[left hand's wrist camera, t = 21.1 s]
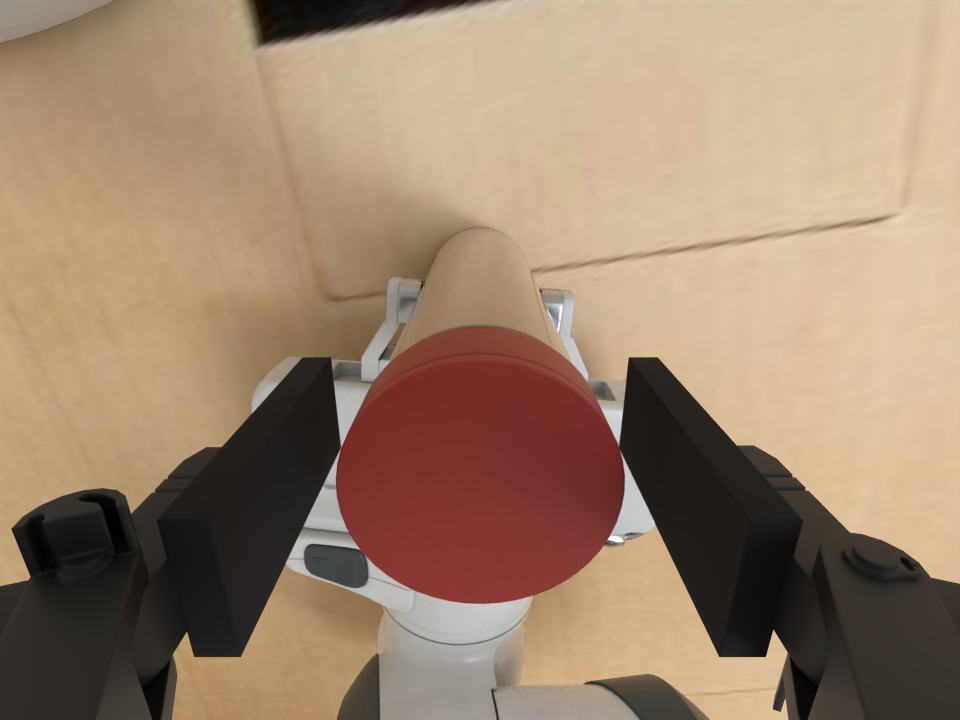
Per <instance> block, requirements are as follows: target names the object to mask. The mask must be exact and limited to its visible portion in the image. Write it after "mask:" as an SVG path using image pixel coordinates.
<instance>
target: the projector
mask: <svg viewBox="0 0 960 720" xmlns="http://www.w3.org/2000/svg"><path fill="white" fill-rule="evenodd" d="M112 1H114V0H0V43H1V42H6V41H10V40H13V39H17V38H20V37H24V36H27V35H30V34H33V33H36V32H40V31H43V30H46V29H48V28H51V27H54V26H56V25H59V24H62V23H64V22H67V21H69V20H72V19H75V18H77V17H80V16H82V15H84V14H86V13H88V12H91V11H93V10H95V9H97V8H99V7H102V6H104V5H106V4H108V3H110V2H112Z"/></svg>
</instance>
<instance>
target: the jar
mask: <svg viewBox="0 0 960 720" xmlns="http://www.w3.org/2000/svg"><path fill="white" fill-rule="evenodd" d="M470 328H492V329H500V330H506V331H512V332H516V333H519V334H522V335H525V336H529V337H531V338H533V339H536V340H538V341H540V342H542V343H544V344H546V345H548V346H549V347H551V348H553V349H554V350H556V351H557V352H559V353H560V354H561V355H563V356H564V357H565V358H566V359H567V360H569V361H570V362H571V363H572V361H571V359H570V357H569V355H568V353H567V350H566V348H565V346H564V344H563V342H562V339H561V337H560V335H559V333H558V331H557V328H556V326H555V324H554V322H553V319H552V317H551V315H550V313H549V311H548V308H547V306H546V304H545V302H544V300H543V297H542V295H541V293H540V291H539V289H538V286H537V284H536V282H535V280H534V277H533V275H532V273H531V271H530V269H529V266H528V264H527V262H526V260H525V258H524V255H523V253H522V251H521V250H520V248H519V247H518V246H517V244H516V243H515V242H514V241H513V240H512V239H510V238H509V237H508V236H506V235H505V234H503V233H501V232H499V231H496V230H493V229H488V228H472V229H467V230H464V231H461V232H459V233H457V234H455V235H454V236H453V237H451V238H450V239H449V240H448V241H447V242H445V244H444V245H443V246H442V247H441V249H440V250H439V252H438V254H437V256H436V258H435V260H434V263H433V265H432V267H431V269H430V272H429V274H428V276H427V278H426V280H425V283H424V285H423V287H422V289H421V292H420V294H419V296H418V298H417V300H416V303H415V305H414V307H413V309H412V312H411V314H410V316H409V318H408V320H407V323H406V325H405V327H404V329H403V332H402V334H401V336H400V338H399V340H398V343H397V345H396V347H395V349H394V352H393V354H392V356H391V358H390V360H389V363H390V362H391V361H392V360H393V359H394V358H396V357H397V356H398V355H399V354H401V353H402V352H404V351H405V350H407V349H408V348H410V347H411V346H413V345H415V344H417V343H419V342H421V341H423V340H425V339H427V338H430V337H433V336H435V335H438V334H441V333H445V332H450V331H454V330H459V329H470ZM389 363H388V364H389Z"/></svg>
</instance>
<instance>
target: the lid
mask: <svg viewBox="0 0 960 720" xmlns="http://www.w3.org/2000/svg"><path fill="white" fill-rule="evenodd" d="M624 492H625V472H624V465H623V459H622V455H621V452H620V449H619V445H618V443H617V440H616V438H615V436H614V434H613V432H612V430H611V428H610V426H609V424H608V422H607V420H606V418H605V416H604V414H603V412H602V409H601V407H600V405H599V403H598V401H597V399H596V397H595V395H594V393H593V391H592V389H591V387H590V385H589V384H588V383H587V381H586V380H585V378H584V377H583V375H582V374H581V373H580V372H579V371H578V370H577V368H576V367H575V366H574V365H573V364H572V363H571V362H570V361H569V360H567V359H566V358H565V357H564V356H563V355H561V354H560V353H559V352H557V351H556V350H554V349H553V348H551V347H549V346H548V345H546V344H544V343H542V342H540V341H538V340H536V339H533V338H531V337H529V336H525V335H522V334H519V333H516V332H512V331H506V330H500V329H492V328H470V329H459V330H454V331H450V332H445V333H441V334H438V335H435V336H433V337H430V338H427V339H425V340H423V341H421V342H419V343H417V344H415V345H413V346H411V347H410V348H408V349H407V350H405V351H404V352H402V353H401V354H399V355H398V356H397V357H396V358H394V359H393V360H392V361H391V362H390V363H389V364H388V365H387V366H386V367H385V368H384V369H383V370H382V371H381V373H380V374H379V375H378V376H377V377H376V379H375V380H374V382H373V384H372V385H371V387H370V388H369V390H368V392H367V394H366V396H365V398H364V400H363V402H362V404H361V406H360V408H359V410H358V412H357V415H356V417H355V419H354V421H353V423H352V425H351V427H350V429H349V431H348V433H347V436H346V438H345V440H344V443H343V445H342V447H341V451H340V455H339V459H338V463H337V471H336V493H337V500H338V504H339V509H340V513H341V515H342V518H343V521H344V523H345V526H346V528H347V530H348V532H349V533H350V535H351V537H352V539H353V541H354V542H355V543H356V545H357V546H358V547H359V549H360V550H361V551H362V553H363V554H364V555H365V556H366V557H367V558H368V559H369V560H370V561H371V562H372V563H373V564H374V565H375V566H376V567H377V568H379V569H380V570H381V571H382V572H384V573H385V574H386V575H387V576H389V577H390V578H392V579H394V580H395V581H397V582H398V583H400V584H402V585H404V586H406V587H408V588H410V589H412V590H414V591H416V592H419V593H422V594H425V595H428V596H430V597H434V598H438V599H442V600H446V601H451V602H459V603H466V604H492V603H503V602H509V601H515V600H519V599H523V598H527V597H530V596H534V595H536V594H539V593H541V592H544V591H546V590H549V589H551V588H553V587H555V586H557V585H559V584H561V583H562V582H564V581H566V580H567V579H569V578H570V577H572V576H573V575H575V574H576V573H577V572H579V571H580V570H581V569H582V568H583V567H584V566H586V565H587V564H588V563H589V562H590V561H591V560H592V559H593V558H594V557H595V556H596V554H597V553H598V552H599V551H600V550H601V549H602V547H603V546H604V544H605V543H606V541H607V540H608V538H609V537H610V535H611V533H612V531H613V529H614V527H615V525H616V523H617V520H618V517H619V514H620V511H621V508H622V504H623V498H624Z"/></svg>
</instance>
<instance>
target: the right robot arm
mask: <svg viewBox="0 0 960 720" xmlns="http://www.w3.org/2000/svg"><path fill="white" fill-rule="evenodd" d="M423 285H424V279H416V278H406V277H393V276H392V277H391V279H390V280H389V281H388V287H387V309H386V319H385V320H384V322H383V323H382V325H381V326H380V328H379V330H378V331H377V333H376V334H375V336H374V337H373V339H372V341H371V342H370V344H369V345H368V347H367V349H366V350H365V352H364V354H363V355H362V357H361V361H353V360H339V359H331V361H332V370H333V379H334V388H335V397H336V406H337V415H338V424H339V432H340V441H341V447H342V445H343V443H344V440H345V438H346V436H347V433H348V431H349V429H350V427H351V425H352V423H353V421H354V419H355V417H356V415H357V412H358V410H359V408H360V406H361V404H362V402H363V400H364V398H365V396H366V394H367V392H368V390H369V388H370V387H371V385H372V384H373V382H374V380H375V379H376V377H377V376H378V375H379V374H380V373H381V371H382V370H383V369H384V368H385V367H386V366H387V365H388V363H389V360H390V358H391V356H392V354H393V352H394V349H395V347H396V345H390V344H389V345H388V343H389V342H390V340H391V339H392V337H393V336H394V334H395V332H396V331H397V329H398V328H399V326H400V325H401V324H406V323H407V320H408V318H409V316H410V314H411V312H412V309H413V307H414V305H415V303H416V300H417V298H418V296H419V294H420V292H421V289H422V287H423ZM539 291H540V293H541V295H542V297H543V300H544V302H545V304H546V306H547V308H548V311H549V313H550V315H551V317H552V319H553V322H554V324H555V326H556V328H557V331H558V333H559V335H560V337H561V339H562V342H563V344H564V346H565V348H566V350H567V353H568V355H569V357H570V359H571V361H572V364H573V365H574V366H575V367H576V368H577V370H578V371H579V372H580V373H581V374H582V375H583V377H584V378H585V380H586V381H587V383H588V384H589V385H590V387H591V389H592V391H593V393H594V395H595V397H596V399H597V401H598V403H599V405H600V407H601V409H602V412H603V414H604V416H605V418H606V420H607V422H608V424H609V426H610V428H611V430H612V432H613V434H614V436H615V438H616V440H617V443H618V445H619V441H620V432H621V424H622V415H623V406H624V397H625V388H626V381H623V380H610V379H596V378H588V372H587V370H586V368H585V365H584V363H583V361H582V358H581V356H580V354H579V351H578V349H577V346H576V344H575V342H574V339H573V337H572V335H571V333H570V332H571V325H572V318H573V311H574V295H573V294H572V292H571V291H570V290H559V289H545V288H539ZM387 345H388V346H387ZM301 358H302V357H300V356H291V357H288V358H285V359H284V360H283V361H281V362H280V363H279V364H278V365H277V366H276V367H275V368H273V369H272V370H271V371H270V372H269V373H268V374H267V375H266V376H265V377H264V379H263V380H262V381H261V382H260V384H259V385H258V386H257V388H256V389H255V391H254V394H253V396H252V401H251V414H252V413H253V412H254V411H255V410H256V409H257V407H258V406H259V405H260V404H261V403H262V402H263V401H264V400H265V399H266V397H267V396H268V395H269V394H270V393H271V392H272V391H273V390H274V388H275V387H276V386H277V385H278V384H279V383H280V382H281V381H282V380H283V378H284V377H285V376H286V375H287V374H288V373H289V372H290V371H291V370H292V368H293V367H294V366H295V365H296V364H297V363H298V362H299V361H300V359H301ZM340 451H341V449H340ZM340 451H339V453H338V456H337V458H336V460H335V462H334V464H333V466H332V468H331V470H330V472H329V474H328V476H327V478H326V480H325V483H324V485H323V487H322V489H321V491H320V493H319V495H318V497H317V499H316V501H315V503H314V505H313V508H312V510H311V512H310V514H309V516H308V518H307V520H306V522H305V524H304V526H303V528H302V530H301V532H300V535H299V537H298V539H297V541H296V543H295V545H294V547H293V549H292V551H291V553H290V555H289V557H288V560H287V562H286V566H287V567H288V568H290V569H291V570H293V571H295V572H297V573H299V574H302V575H305V576H309V577H312V578H315V579H318V580H322V581H325V582H328V583H331V584H334V585H337V586H339V587H342V588H345V589H348V590H350V591H353V592H355V593H358V594H360V595H362V596H364V597H367V598H369V599H371V600H373V601H375V602H377V603H379V604H381V605H382V607H383V610H384V613H383V616H382V618H381V621H380V625H379V629H378V635H377V654H376V655H375V656H373V657H372V658H371V660H370V661H369V662H368V663H367V664H366V665H365V666H364V668H363V669H362V671H361V672H360V673H359V675H358V677H357V678H356V680H355V681H354V682H353V684H352V686H351V687H350V689H349V690H348V692H347V693H346V695H345V696H344V698H343V701H342V704H341V707H340V710H339V713H338V717H337V720H709V719H708V717H707V716H706V715H705V714H704V713H703V712H702V711H701V710H699V709H698V708H697V707H696V706H695V705H694V704H693V703H692V702H691V701H689V700H688V699H687V698H686V697H685V696H684V695H682V694H681V693H680V692H679V691H678V690H676V689H675V688H674V687H672V686H671V685H670V684H668V683H667V682H665V681H664V680H663V679H661V678H659V677H657V676H655V675H651V674H643V675H636V676H628V677H620V678H612V679H604V680H596V681H590V682H586V683H584V684H583V685H535V686H519V683H520V678H521V673H522V667H523V662H524V656H525V645H526V638H525V629H524V625H523V623H524V621H525V620H526V618H527V616H528V614H529V611H530V609H531V606H532V602H533V597H534V596H530V597H527V598H523V599H519V600H515V601H509V602H503V603H492V604H466V603H459V602H451V601H446V600H442V599H438V598H434V597H430V596H428V595H425V594H422V593H419V592H416V591H414V590H412V589H410V588H408V587H406V586H404V585H402V584H400V583H398V582H397V581H395V580H394V579H392V578H390V577H389V576H387V575H386V574H385V573H384V572H382V571H381V570H380V569H379V568H377V567H376V566H375V565H374V564H373V563H372V562H371V561H370V560H369V559H368V558H367V557H366V556H365V555H364V554H363V553H362V551H361V550H360V549H359V547H358V546H357V545H356V543H355V542H354V541H353V539H352V537H351V535H350V533H349V532H348V530H347V528H346V526H345V523H344V521H343V518H342V515H341V513H340V509H339V504H338V500H337V493H336V471H337V463H338V459H339V455H340ZM620 452H621V451H620ZM621 455H622V453H621ZM622 459H623V465H624V472H625V492H624V498H623V504H622V508H621V511H620V514H619V517H618V520H617V523H616V525H615V527H614V529H613V531H612V533H611V535H610V537H609V538H608V540H607V541H606V543H605V544H604V546H606V547H617V546H623V545H624V544H625V540H630V539H634V538H637V537H639V536H641V535H643V534H645V533H648V532H650V531H651V530H652V529H653V527H654V525H655V522H654V520H653V518H652V516H651V514H650V512H649V510H648V508H647V505H646V503H645V501H644V499H643V497H642V495H641V493H640V491H639V489H638V487H637V485H636V483H635V480H634V478H633V476H632V474H631V472H630V470H629V468H628V466H627V464H626V462H625V460H624V458H623V456H622Z"/></svg>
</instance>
